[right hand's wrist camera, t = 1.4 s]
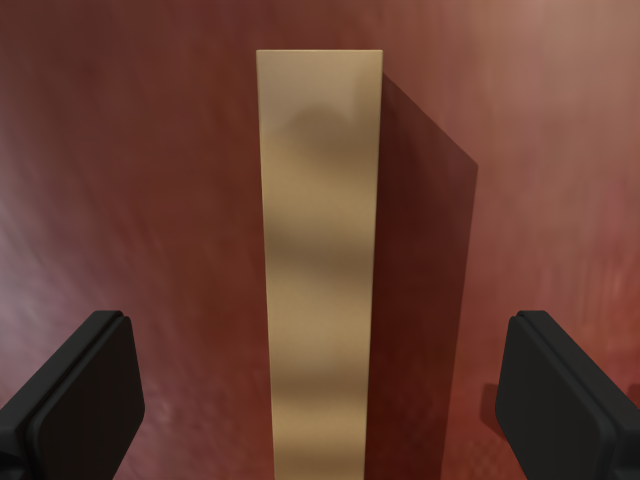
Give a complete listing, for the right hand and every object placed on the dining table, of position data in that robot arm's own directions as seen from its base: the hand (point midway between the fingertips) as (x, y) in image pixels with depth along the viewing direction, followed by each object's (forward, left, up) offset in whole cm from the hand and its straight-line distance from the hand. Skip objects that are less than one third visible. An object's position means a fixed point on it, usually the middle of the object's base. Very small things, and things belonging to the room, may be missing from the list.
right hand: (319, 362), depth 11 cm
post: (+2, +21, -16) cm, 26 cm away
